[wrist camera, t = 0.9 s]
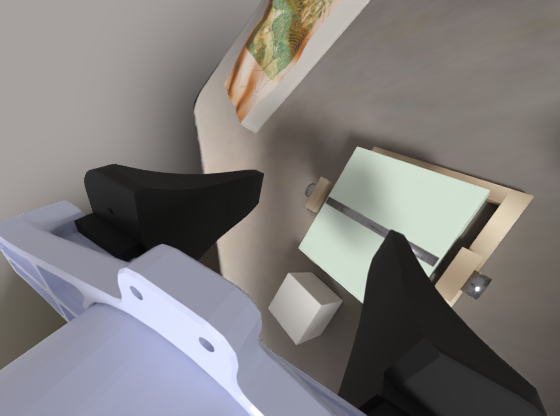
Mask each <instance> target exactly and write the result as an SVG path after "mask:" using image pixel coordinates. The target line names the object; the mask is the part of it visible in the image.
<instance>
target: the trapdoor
mask: <svg viewBox="0 0 560 416" xmlns="http://www.w3.org/2000/svg"><path fill="white" fill-rule="evenodd" d="M489 193H490V190H488V189H485V188H482V187H479V186H476V185H473V184H470V183H467V182H464V181H461V180H458V179H455V178H451V177H448V176H445V175H442V174H439V173H436V172H433V171H430V170H427V169H424V168H421V167H418V166H415V165H412V164H409V163H406V162H403V161H400V160H397V159H394V158H391V157H388V156H385V155H382V154H379V153H376V152H373V151H370V150H367V149H364V148H361V147H358V146H357V148H356V149H355V151H354V153H353V155H352V156H351V158H350V160H349V161H348V163H347V165H346V167H345V168H344V170H343V172H342V174H341V175H340V177H339V179H338V180H337V182H336V184H335V186H334V187H333V189H332V191H331V193H330V194H329V196H328V198H327V199H326V201H325V203H324V205H323V206H322V208H321V210H320V211H319V213H318V215H317V217H316V218H315V220H314V222H313V224H312V225H311V227H310V229H309V230H308V232H307V234H306V236H305V237H304V239H303V241H302V243H301V244H300V246H299V249H300V250H301V251H302V252H303V253H304V254H306V255H307V256H308V257H309V258H310V259H311V260H313V261H314V262H315V263H316V264H317V265H318V266H320V267H321V268H322V269H323V270H324V271H325V272H327V273H328V274H329V275H330V276H331V277H332V278H334V279H335V280H336V281H337V282H338V283H339V284H341V285H342V286H343V287H344V288H345V289H346V290H348V291H349V292H350V293H351V294H352V295H353V296H355V297H356V298H357V299H358V300H359V301H360V302H361V303H363V300H364V293H365V287H366V280H367V274H368V271H369V267H370V264H371V261H372V258H373V256H374V255H375V253H376V252H377V250H378V249H379V247H380V245H381V244H382V242H383V241H384V239H385V238H386V236H387V235H388V233H389V231H390V230H391V229H392V230H395V231H397V232H399V233H402V234H404V235H405V237H406V239H407V241H408V243H409V244H410V246H411V248H412V250H413V252H414V254H415V256H416V257H417V259H418V261H419V263H420V264H421V266H422V268H423V269H424V271H425V273H426V274H427V276H428V277H429V279H430V278H431V276H432V275H433V273H434V272H435V270H436V269H437V268H438V266H439V265H440V263H441V262H442V261H443V259H444V258H445V256H446V255H447V254H448V252H449V251H450V249H451V248H452V247H453V245H454V244H455V242H456V241H457V239H458V238H459V237H460V235H461V234H462V232H463V231H464V230H465V228H466V227H467V225H468V224H469V223H470V221H471V220H472V218H473V217H474V216H475V214H476V213H477V211H478V210H479V208H480V207H481V206H482V204H483V203H484V201H485V200H486V199H487V197H488V196H489Z"/></svg>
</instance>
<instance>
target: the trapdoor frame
mask: <svg viewBox="0 0 560 416" xmlns="http://www.w3.org/2000/svg"><path fill="white" fill-rule="evenodd" d="M372 151H373V152H376V153H379V154H382V155H385V156H388V157H391V158H394V159H397V160H400V161H403V162H406V163H409V164H412V165H415V166H418V167H421V168H424V169H427V170H430V171H433V172H436V173H439V174H442V175H445V176H448V177H451V178H455V179H458V180H461V181H464V182H467V183H470V184H473V185H476V186H479V187H482V188H485V189H488V190H490V193H489V196H488V197H487V199H486V200H485V201H487V202H490V203H493V204H496V205H498V206H499V208H498V209H497V210H496V212H495V213H494V214H493V216H492V217H491V219H490V220H489V221H488V223H487V224H486V226H485V227H484V228H483V230H482V231H481V232H480V234H479V235H478V237H477V238H476V239H475V241H474V242H473V243H472V245H471V246H470V248H469V249H466V248H464V247H462V248H461V250H460V251H459V253H458V254H457V255H456V257H455V258H454V260H453V261H452V262H451V264H450V265H449V267H448V268H447V269H446V271H445V272H444V274H443V275H442V276H441V278H440V279H439V280H438V282H437V283H436V285H435V288H436V289H437V290H438V292H439V293H440V294H441V295H442V297H443V298H444V299H445V301H446V302H447V303H448V304H449V305H450V307H452V306H453V304H454V303H455V302H456V300H457V299H458V298H459V296H460V295H461V294H462V292H464V293H466V294H467V295H469V296H471V297H472V298H474V299H476V300H477V299H478V298H479V296H480V295H481V294H482V293H483V292H484V290H485V289H486V288H487V286H488V285H489V283H490V282H491V280H492V279H491V278H489V277H487V276H485V275H483V274H481V273H479V272H478V271H479V270H480V268H481V267H482V266H483V264H484V263H485V262H486V260H487V259H488V258H489V256H490V255H491V254H492V252H493V251H494V250H495V248H496V247H497V246H498V244H499V243H500V242H501V240H502V239H503V238H504V236H505V235H506V233H507V232H508V231H509V229H510V228H511V227H512V225H513V224H514V223H515V221H516V220H517V219H518V217H519V216H520V215H521V213H522V212H523V211H524V209H525V208H526V207H527V205H528V204H529V203H530V201H531V200H532V199H533V197H534V196H532V195H529V194H526V193H522V192H519V191H516V190H513V189H510V188H506V187H503V186H500V185H497V184H494V183H490V182H487V181H484V180H481V179H477V178H474V177H471V176H468V175H465V174H461V173H458V172H455V171H452V170H449V169H445V168H442V167H439V166H436V165H433V164H429V163H426V162H423V161H420V160H416V159H413V158H410V157H407V156H404V155H400V154H397V153H394V152H391V151H388V150H384V149H381V148H378V147H375V146H374V147H373V149H372ZM334 186H335V184H334V183H332V182H331V181H329V180H327V179H325V178H323V177H320V179H319V181H318V182H317V184H314V183H312V184H310V185H309V186H308V187H307V189H306V192H305V194H306V196H307V197H309V198H308V200H307V202H306V204H305V205H304V206H305V207H307V208H308V209H310V210H311V211H313V212H316V213H319V211H320V210H321V208H322V206H323V205H324V203H325V201H326V199H327V198H328V196H329V194H330V193H331V191H332V189H333V187H334ZM308 259H309V260H310V261H312V262H313V263H314V264H315V265H317V264H316V263H315V262H314V261H313V260H311V259H310V258H309V257H308Z"/></svg>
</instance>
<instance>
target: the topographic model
mask: <svg viewBox="0 0 560 416" xmlns="http://www.w3.org/2000/svg"><path fill="white" fill-rule="evenodd" d="M369 1H370V0H269V2H268V4H267V7H266V9H265V12H264V14H263V17H262V18H261V20H260V21H259V22H258V23H257V24H256V25H255V27H254V28H253V30H252V32H251V33H250V35H249V37H248V38H247V40H246V42H245V44H244V47H243V49H242V51H241V53H240V55H239V57H238V59H237V61H236V63H235V65H234V68H233V70H232V72H231V74H230V75H229V77H228V78H227V80H226V81H225V83H224V85H225V87H226V89H227V91H228V95H229V97H230V99H231V101H232V103H233V104H234V106H235V108H236V114H237V116H238V119H239V122H240V124H241V125H243V126H244V127H246V128H248V129H249V130H251V131H252V132H254V133H255V134H256V132H257V131H258V130H259V129H260V128H261V127H262V126H263V124H264V123H265V122H266V121H267V120H268V119H269V117H270V116H271V115H272V114H273V113H274V112H275V110H276V109H277V108H278V107H279V106H280V105H281V103H282V102H283V101H284V100H285V99H286V98H287V96H288V95H289V94H290V93H291V92H292V91H293V90H294V88H295V87H296V86H297V85H298V84H299V83H300V81H301V80H302V79H303V78H304V77H305V76H306V74H307V73H308V72H309V71H310V70H311V69H312V67H313V66H314V65H315V64H316V63H317V62H318V60H319V59H320V58H321V57H322V56H323V55H324V54H325V52H326V51H327V50H328V49H329V48H330V47H331V45H332V44H333V43H334V42H335V41H336V40H337V38H338V37H339V36H340V35H341V34H342V33H343V31H344V30H345V29H346V28H347V27H348V26H349V24H350V23H351V22H352V21H353V20H354V19H355V18H356V16H357V15H358V14H359V13H360V12H361V11H362V9H363V8H364V7H365V6H366V5H367V4H368V2H369Z"/></svg>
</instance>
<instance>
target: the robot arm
mask: <svg viewBox="0 0 560 416" xmlns="http://www.w3.org/2000/svg"><path fill="white" fill-rule="evenodd" d="M263 176H264V173H262V172H259V171H257V170H241V171H233V172H224V173H212V174H174V173H162V172H153V171H148V170H141V169H136V168H131V167H126V166H122V165H117V164H111V165H107V166H104V167H100V168H96V169H92V170H89V171H88V172H87V173H86V175H85V178H84V183H85V188H86V192H87V195H88V198H89V201H90V204H91V208H92V211H93V212H94V213H91V214H89V215H86V216H85V214H84V213H83V211H81V210H80V209H79V208H77V207H76V206H74V205H73V204H71V203H70V202H68V201H66V200H63V201H60V202H57V203H54V204H51V205H48V206H45V207H42V208H39V209H36V210H33V211H30V212H27V213H24V214H21V215H18V216H15V217H12V218H9V219H7V220H3V221H0V250H1V251H2V253H3V254H4V256H5V257H6V258H7V260H8V261H9V263H10V264H11V266H12V267H13V269H14V270H15V271H16V272H17V273H18V274H19V275H20V276H21V277H22V278H23V279H24V280H25V281H26V282H28V283H29V284H30V285H31V286H32V287H33V288H34V289H35V290H36V291H37V292H38V293H39V294H40V295H41V296H42V297H43V298H44V299H45V300H46V301H48V303H49V304H50V305H51V306H52V307H53V308H54V309H55V310H56V311H57V312H58V313H59V314H60V315H61V316H62V317H63V318H64V319H65V320H66V321H67V322H68V323H67V324H66V325H64V326H63V327H62V328H60V329H59V330H57V331H56V332H54V333H53V334H52V335H50V336H49V337H47V338H46V339H44V340H43V341H42V342H40V343H39V344H37V345H36V346H34V347H33V348H31V349H30V350H29V351H27V352H26V353H24V354H23V355H21V356H20V357H19V358H17V359H16V360H14V361H13V362H11V363H10V364H9V365H7V366H6V367H4V368H3V369H1V370H0V416H547V414H546V412H545V409H544V407H543V405H542V402H541V400H540V397H539V395H538V393H537V390H536V388H535V387H533V386H532V385H531V384H530V383H529V382H528V381H527V380H525V379H524V378H523V377H522V376H521V375H520V374H518V373H517V372H516V371H515V370H514V369H513V368H512V367H510V366H509V365H508V364H507V363H506V362H505V361H504V360H502V359H501V358H500V357H499V356H498V355H497V354H496V353H495V352H494V351H493V350H492V349H491V348H490V347H488V346H487V345H486V344H485V343H484V342H483V341H482V340H481V339H480V338H479V337H478V336H477V335H476V334H475V333H474V332H473V331H472V330H471V329H470V328H469V327H468V326H467V325H466V323H465V322H464V321H463V320H462V319H461V318H460V317H459V316H458V315H457V314H456V312H455V311H454V310H453V309H452V308H451V307H450V305H449V304H448V303H447V302H446V301H445V299H444V298H443V297H442V295H441V294H440V293H439V292H438V290H437V289H436V288H435V286H434V285H433V283H432V282H431V280H430V279H429V277H428V276H427V274H426V273H425V271H424V269H423V268H422V266H421V264H420V263H419V261H418V259H417V257H416V256H415V254H414V252H413V250H412V248H411V246H410V244H409V243H408V241H407V239H406V237H405V235H404V234H402V233H399V232H397V231H395V230H392V229H391V230H390V231H389V233H388V235H387V236H386V238H385V239H384V241H383V242H382V244H381V245H380V247H379V249H378V250H377V252H376V253H375V255H374V256H373V258H372V261H371V264H370V267H369V271H368V274H367V280H366V287H365V293H364V300H363V307H362V313H361V318H360V323H359V327H358V330H357V334H356V338H355V341H354V345H353V348H352V351H351V355H350V358H349V362H348V365H347V368H346V371H345V374H344V378H343V381H342V384H341V387H340V390H339V393H338V395H336V394H335V393H333V392H332V391H330V390H329V389H327V388H326V387H325V386H323V385H322V384H320V383H319V382H317V381H316V380H314V379H313V378H311V377H310V376H308V375H307V374H305V373H304V372H302V371H301V370H299V369H298V368H296V367H295V366H294V365H292V364H291V363H289V362H288V361H286V360H285V359H283V358H282V357H280V356H279V355H277V354H276V353H274V352H273V351H271V350H270V349H269V348H268V347H267V346H266V345H265V344H264V343H263V342H262V341H261V340H260V339H259V336H260V333H261V330H262V319H261V313H260V311H259V309H258V307H257V306H256V304H255V303H254V301H253V299H252V298H251V297H250V296H249V295H248V294H246V293H245V292H244V291H243V290H242V289H240V288H239V287H238V286H236V285H235V284H233V283H232V282H230V281H228V280H227V279H225V278H223V277H222V276H220V275H218V274H217V273H215V272H214V271H212V270H210V269H209V268H207V267H205V266H204V265H202V264H201V263H199V262H198V260H199V259H200V258H201V257H202V256H203V255H204V254H205V252H206V251H207V250H208V249H209V248H210V247H211V246H212V245H213V244H214V243H215V242H216V241H217V240H218V239H219V238H220V237H221V236H223V235H224V234H225V233H226V232H228V231H229V230H230V229H231V228H232V227H234V226H235V225H236V224H237V223H239V222H240V221H241V220H242V219H243V218H245V217H246V216H247V215H248V214H249V213H250V212H251V211H252V210H253V209H254V208H255V207H256V205H257V204H258V203H259V198H260V192H261V187H262V182H263Z"/></svg>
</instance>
